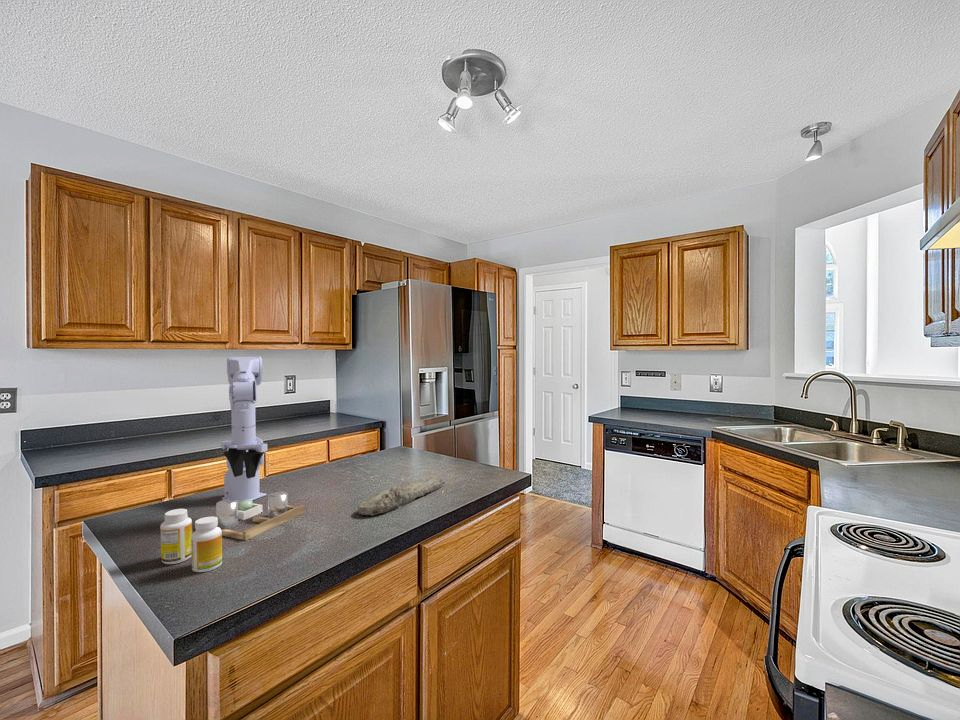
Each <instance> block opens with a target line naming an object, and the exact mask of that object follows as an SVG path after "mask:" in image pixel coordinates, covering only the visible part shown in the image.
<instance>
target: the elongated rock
mask: <svg viewBox="0 0 960 720" xmlns="http://www.w3.org/2000/svg"><path fill="white" fill-rule="evenodd" d="M445 482H446V481H445V479H443V477H442V476H441V475H438V476H437V475H435V476H434V475H433V476H427V477H422V478H420V479H418V480H414V481H411V482H409V483H406V484H404V485H402V486H397V485H395V486H392V487H390V488H385V489H384V490H382V491H380V492H378V493H375V494H374V495H373V496H370V497H369V498H367V499H366V500H363V501H362V502H360V503H359V504H358V506H357V513H358V515H362V516H363V515H364V516H375V515H379V514H384V513H389V512H391V511H393V510H395V509H400V508H401V507H404V506H405V505H406V504H408V503H410V502H412V501H414V500H416V499H417V498H419V497H424V496H425V495H427V494H428V493H432V492H434V491H438V489H440V488H441V487H442V486H443V485H445V484H446V483H445Z"/></svg>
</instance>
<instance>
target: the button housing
mask: <svg viewBox="0 0 960 720" xmlns="http://www.w3.org/2000/svg"><path fill="white" fill-rule="evenodd" d="M263 508H264V507H263V504H259V503H254V502H253V508H251V509H249V510H246V511H240V510H238V520H242V521H245V520H247V519H251V518H253V517H254V516H258V515H259V514H262V513H263V511H264V509H263ZM261 512H262V513H261Z"/></svg>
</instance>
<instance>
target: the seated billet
mask: <svg viewBox="0 0 960 720" xmlns="http://www.w3.org/2000/svg"><path fill="white" fill-rule="evenodd" d="M288 498H289V497H288V492H287V491H284V490H283V491H282V490H281V491H274V492H271V493H268V494H267V518H273V517H276V516H278V515H280V514H282V513H285V512H287V511H288V505H289V504H288V501H289V500H288Z"/></svg>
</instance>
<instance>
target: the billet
mask: <svg viewBox="0 0 960 720" xmlns="http://www.w3.org/2000/svg"><path fill="white" fill-rule="evenodd" d="M215 505H216V506H215V508H216V511H215V515H216V516H215V517H217V518H218V525H217V527H219V528H221V530H223V529H227V528H229V529H232V528H231V527H233V528H235V527H237V526H238V525H239V519H238V500H237V499H226V500H222V499H221V500H219V501H217V502H216V504H215ZM236 525H237V526H236ZM234 526H235V527H234Z"/></svg>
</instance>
